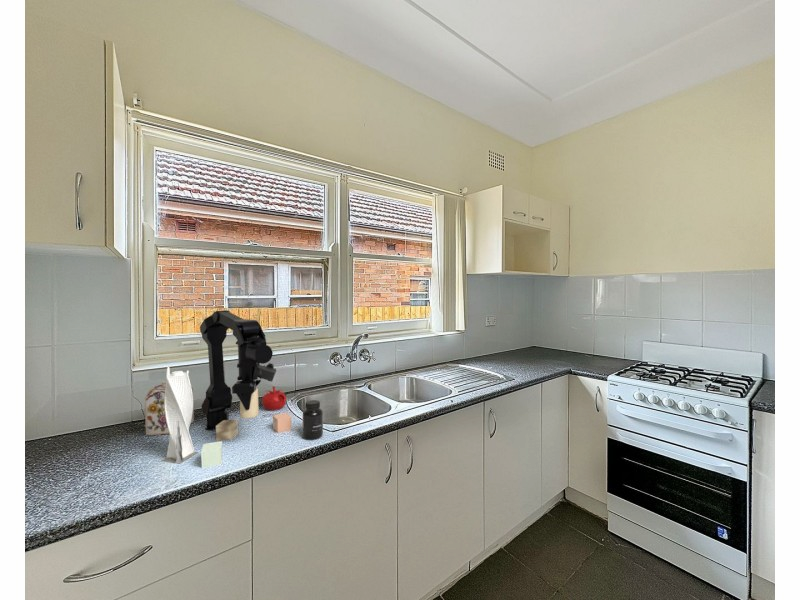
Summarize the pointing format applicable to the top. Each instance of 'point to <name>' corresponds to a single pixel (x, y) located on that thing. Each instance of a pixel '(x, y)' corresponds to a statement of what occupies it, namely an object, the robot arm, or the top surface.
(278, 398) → the pomegranate
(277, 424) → the terracotta block
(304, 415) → the supplement bottle
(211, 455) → the sage block
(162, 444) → the top surface
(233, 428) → the birch block
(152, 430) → the decorative jar
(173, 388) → the skyscraper
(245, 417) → the candle
